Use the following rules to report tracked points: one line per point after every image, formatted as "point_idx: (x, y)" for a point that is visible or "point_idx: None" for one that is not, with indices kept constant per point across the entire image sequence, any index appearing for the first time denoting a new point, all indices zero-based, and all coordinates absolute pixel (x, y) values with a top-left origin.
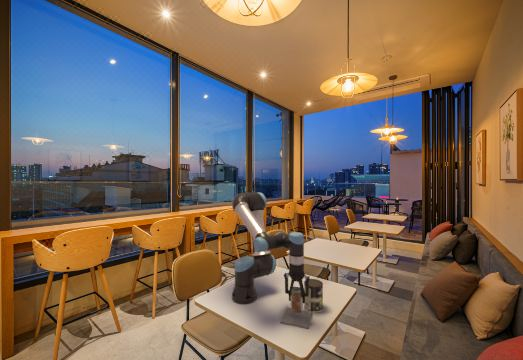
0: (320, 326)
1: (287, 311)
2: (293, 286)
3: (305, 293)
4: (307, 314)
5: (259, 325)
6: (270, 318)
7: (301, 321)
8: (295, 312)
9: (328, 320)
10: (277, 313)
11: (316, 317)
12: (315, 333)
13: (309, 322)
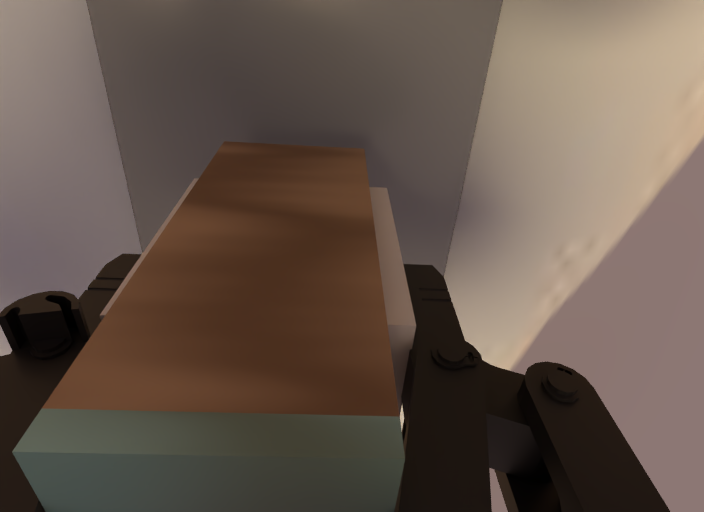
0: (556, 233)
1: (146, 90)
2: (23, 457)
3: (500, 440)
4: (432, 85)
5: (3, 355)
6: (25, 246)
7: None
8: (262, 84)
9: (685, 103)
10: (37, 133)
11: (545, 79)
12: (491, 326)
13: (451, 237)
